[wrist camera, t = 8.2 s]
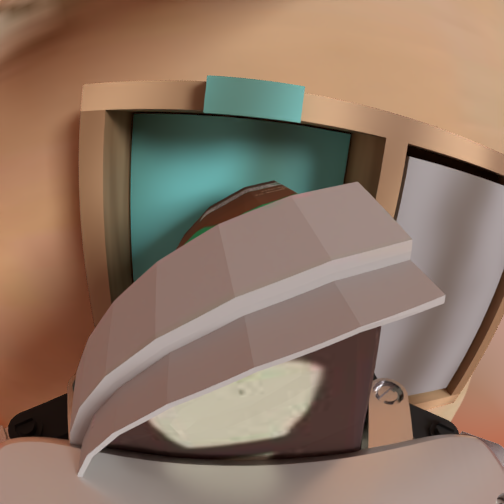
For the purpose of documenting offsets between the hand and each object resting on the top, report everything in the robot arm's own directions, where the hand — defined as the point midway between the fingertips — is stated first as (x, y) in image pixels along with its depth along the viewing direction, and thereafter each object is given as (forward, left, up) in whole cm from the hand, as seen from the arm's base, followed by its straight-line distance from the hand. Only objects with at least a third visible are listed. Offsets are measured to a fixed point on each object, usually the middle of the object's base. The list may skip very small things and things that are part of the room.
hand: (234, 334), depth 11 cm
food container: (+1, 0, -3) cm, 3 cm away
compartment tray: (-5, 0, -5) cm, 7 cm away
